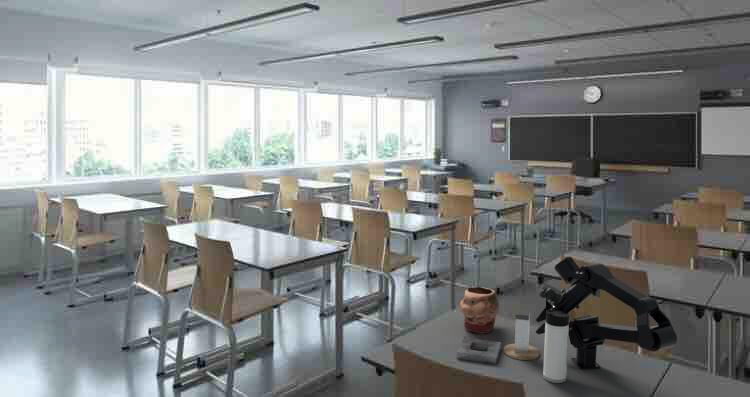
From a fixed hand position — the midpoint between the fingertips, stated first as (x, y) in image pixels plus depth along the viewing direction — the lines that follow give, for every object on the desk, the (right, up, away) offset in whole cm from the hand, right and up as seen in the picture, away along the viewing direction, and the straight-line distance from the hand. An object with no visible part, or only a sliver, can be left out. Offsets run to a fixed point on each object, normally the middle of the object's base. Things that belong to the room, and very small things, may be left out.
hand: (536, 327), depth 168 cm
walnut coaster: (-4, -9, +3) cm, 10 cm away
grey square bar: (-4, -8, +3) cm, 10 cm away
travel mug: (+1, -12, -14) cm, 18 cm away
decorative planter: (-13, -6, +24) cm, 28 cm away
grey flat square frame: (-17, -9, +3) cm, 20 cm away
